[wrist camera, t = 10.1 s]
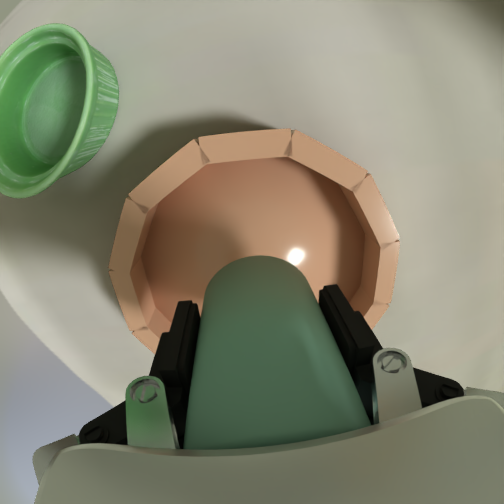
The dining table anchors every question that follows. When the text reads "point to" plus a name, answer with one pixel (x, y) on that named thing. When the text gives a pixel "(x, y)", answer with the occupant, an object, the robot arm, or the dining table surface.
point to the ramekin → (52, 107)
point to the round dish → (251, 225)
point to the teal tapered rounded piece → (266, 363)
